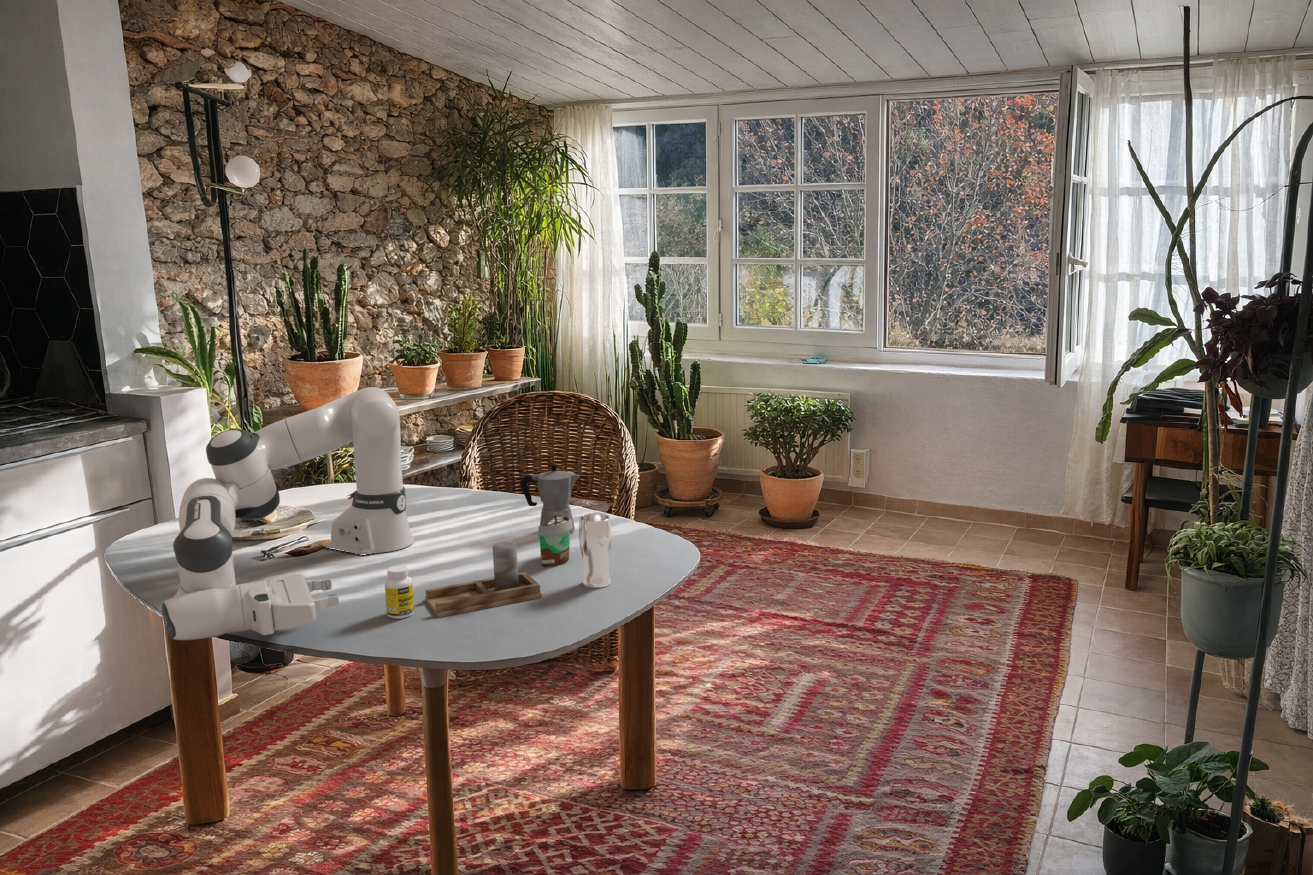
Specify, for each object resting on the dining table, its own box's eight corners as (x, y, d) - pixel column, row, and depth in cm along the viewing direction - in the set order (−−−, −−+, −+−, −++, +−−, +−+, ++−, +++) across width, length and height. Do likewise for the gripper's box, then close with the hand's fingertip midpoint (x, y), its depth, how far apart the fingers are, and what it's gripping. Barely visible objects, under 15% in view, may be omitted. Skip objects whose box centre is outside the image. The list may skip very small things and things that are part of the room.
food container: (565, 570, 219) (563, 527, 217) (539, 568, 220) (537, 526, 218) (580, 552, 230) (578, 512, 228) (555, 551, 232) (554, 511, 230)
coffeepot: (579, 524, 253) (577, 458, 250) (585, 534, 244) (582, 466, 241) (521, 529, 250) (517, 462, 246) (524, 540, 241) (520, 470, 237)
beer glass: (588, 591, 205) (586, 523, 202) (576, 581, 211) (573, 515, 208) (618, 585, 208) (616, 518, 205) (604, 575, 214) (602, 511, 211)
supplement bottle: (400, 621, 191) (396, 574, 189) (381, 616, 194) (377, 570, 192) (420, 612, 195) (416, 566, 193) (401, 607, 198) (397, 562, 196)
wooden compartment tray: (438, 617, 192) (434, 566, 190) (425, 599, 202) (421, 551, 200) (541, 597, 202) (539, 548, 200) (524, 581, 212) (522, 534, 210)
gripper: (256, 602, 191) (328, 590, 197) (264, 639, 173) (344, 624, 179) (252, 572, 190) (325, 560, 196) (261, 606, 172) (341, 592, 178)
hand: (334, 591), depth 188 cm, fingers open, 8 cm apart
